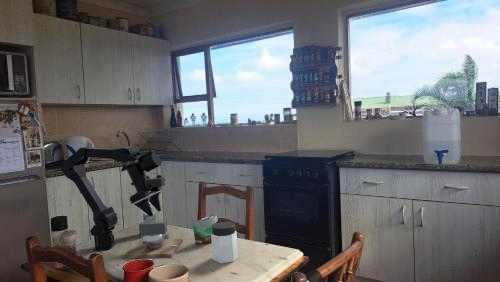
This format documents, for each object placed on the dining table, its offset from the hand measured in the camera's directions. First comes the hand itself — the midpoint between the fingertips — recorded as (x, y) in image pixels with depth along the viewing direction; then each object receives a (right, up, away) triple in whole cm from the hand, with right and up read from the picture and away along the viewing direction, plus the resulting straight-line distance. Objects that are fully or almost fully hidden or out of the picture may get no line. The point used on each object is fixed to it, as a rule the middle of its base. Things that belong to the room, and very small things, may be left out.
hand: (155, 213), depth 141 cm
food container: (+20, -13, +6) cm, 24 cm away
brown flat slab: (0, -14, 0) cm, 14 cm away
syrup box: (-8, -13, +21) cm, 26 cm away
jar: (+28, -13, -13) cm, 33 cm away
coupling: (0, -10, 0) cm, 10 cm away
